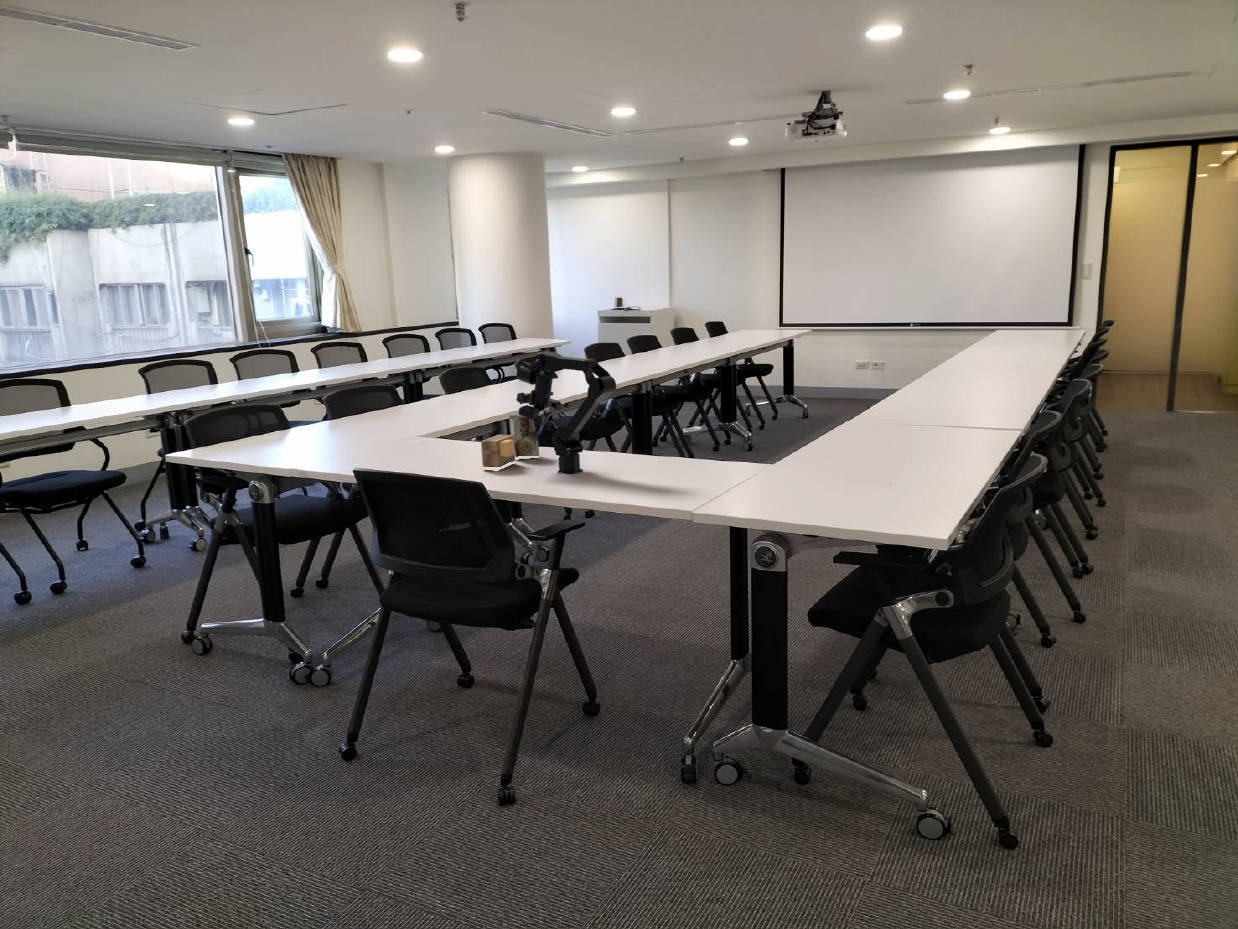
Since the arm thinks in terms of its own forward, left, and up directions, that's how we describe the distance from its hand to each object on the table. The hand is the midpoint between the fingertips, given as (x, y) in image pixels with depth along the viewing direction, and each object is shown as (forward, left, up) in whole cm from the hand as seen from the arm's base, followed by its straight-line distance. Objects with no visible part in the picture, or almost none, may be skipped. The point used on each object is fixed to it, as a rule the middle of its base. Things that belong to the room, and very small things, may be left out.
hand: (537, 431), depth 304 cm
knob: (+11, +7, -8) cm, 15 cm away
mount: (+14, +5, -13) cm, 20 cm away
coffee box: (+16, -13, -13) cm, 24 cm away
